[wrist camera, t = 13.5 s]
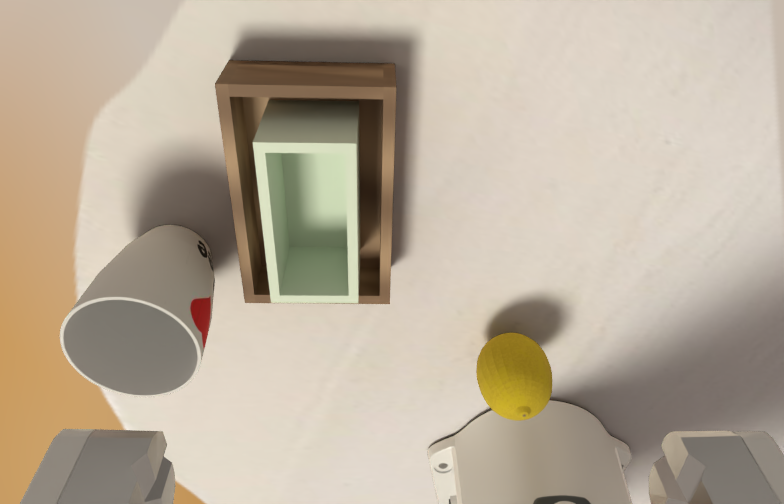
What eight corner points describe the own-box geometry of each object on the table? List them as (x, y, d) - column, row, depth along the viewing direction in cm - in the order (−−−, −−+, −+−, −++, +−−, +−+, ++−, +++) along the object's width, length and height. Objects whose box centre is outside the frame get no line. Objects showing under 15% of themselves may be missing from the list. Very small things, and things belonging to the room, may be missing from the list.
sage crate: (360, 249, 45) (358, 303, 40) (282, 248, 45) (270, 302, 40) (359, 101, 39) (356, 143, 34) (268, 100, 39) (252, 142, 34)
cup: (215, 310, 49) (182, 411, 41) (107, 276, 47) (50, 375, 39) (246, 229, 45) (217, 324, 36) (130, 188, 43) (71, 278, 34)
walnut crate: (388, 269, 47) (389, 303, 44) (254, 268, 47) (244, 302, 43) (394, 63, 38) (396, 87, 35) (229, 60, 38) (214, 84, 35)
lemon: (533, 363, 53) (555, 441, 46) (467, 362, 53) (480, 441, 46) (545, 312, 50) (570, 388, 43) (474, 311, 49) (489, 388, 43)
